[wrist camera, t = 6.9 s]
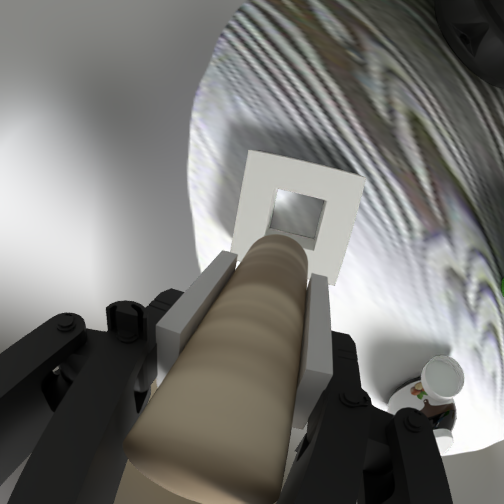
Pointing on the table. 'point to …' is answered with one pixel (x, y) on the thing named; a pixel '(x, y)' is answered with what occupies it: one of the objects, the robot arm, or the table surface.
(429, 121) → the table surface
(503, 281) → the cup
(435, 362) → the spread jar
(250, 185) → the socket block
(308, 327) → the robot arm
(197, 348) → the peg
